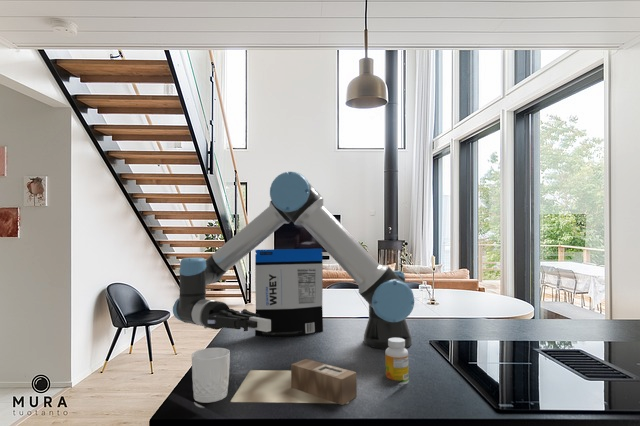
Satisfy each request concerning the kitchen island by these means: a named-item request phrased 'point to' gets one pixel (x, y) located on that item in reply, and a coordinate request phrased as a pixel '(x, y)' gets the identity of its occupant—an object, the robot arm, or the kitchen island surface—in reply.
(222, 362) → the white cup
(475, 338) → the kitchen island surface
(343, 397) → the block
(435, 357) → the kitchen island surface
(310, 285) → the protein powder
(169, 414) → the kitchen island surface
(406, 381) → the supplement bottle
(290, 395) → the board
